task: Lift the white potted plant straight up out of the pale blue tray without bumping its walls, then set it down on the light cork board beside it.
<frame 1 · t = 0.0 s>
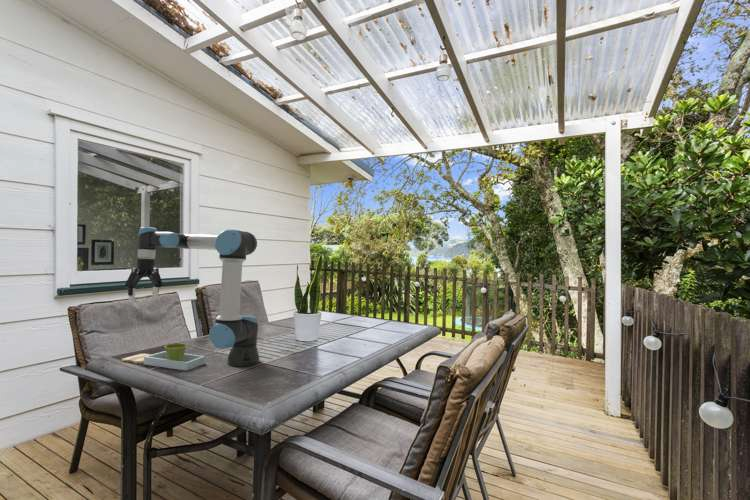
hand: (143, 301, 183), 28 cm above the table, tool pointing down, fingers open, 13 cm apart
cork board: (141, 359, 180), on the table
pale blue tray: (174, 364, 175), on the table
plant pot: (174, 364, 175), resting in pale blue tray
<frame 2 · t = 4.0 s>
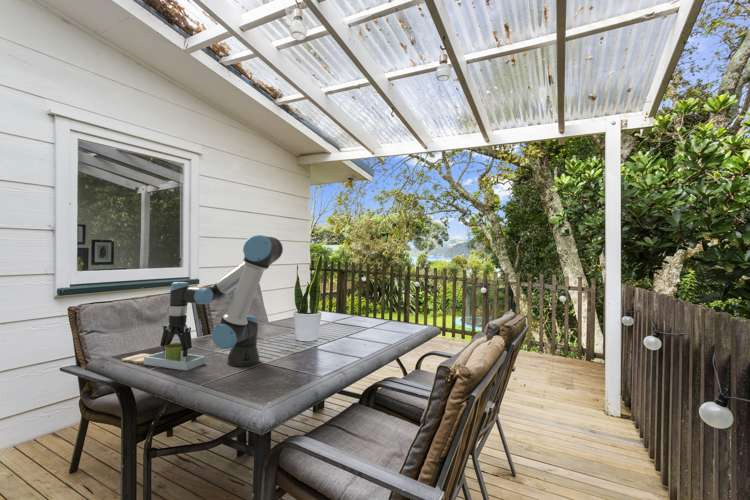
hand: (174, 362, 175), 1 cm above the table, tool pointing down, fingers closed on plant pot, 8 cm apart
plant pot: (174, 364, 175), resting in pale blue tray, touching gripper
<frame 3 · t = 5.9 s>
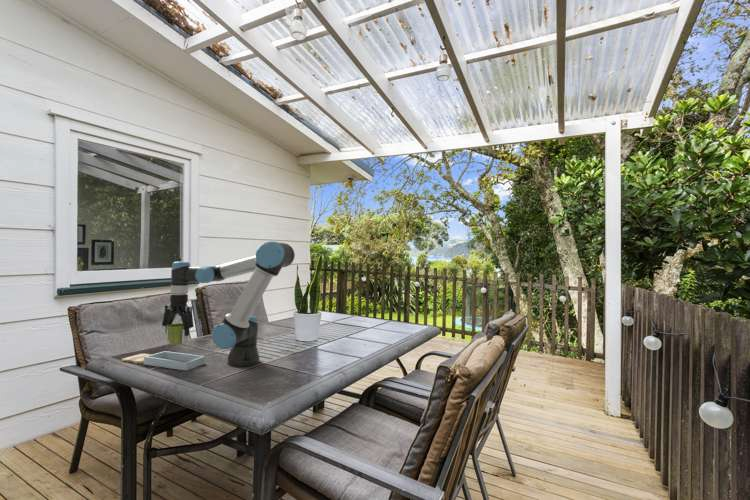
hand: (176, 341, 175), 11 cm above the table, tool pointing down, fingers closed on plant pot, 8 cm apart
plant pot: (176, 343, 175), point 10 cm above the table, touching gripper
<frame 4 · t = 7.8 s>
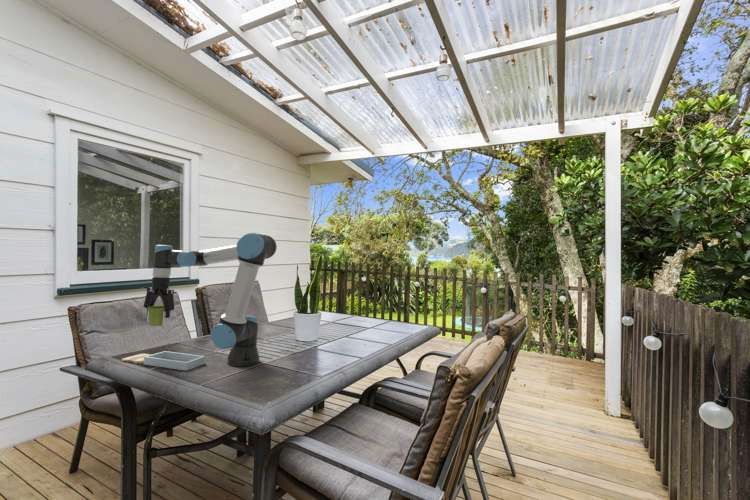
hand: (157, 323, 178), 18 cm above the table, tool pointing down, fingers closed on plant pot, 8 cm apart
plant pot: (157, 325, 178), point 17 cm above the table, touching gripper
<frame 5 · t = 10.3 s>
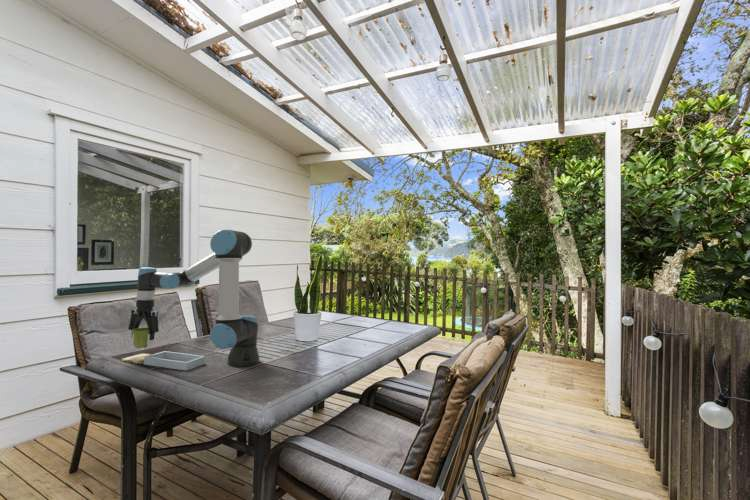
hand: (142, 345, 180), 7 cm above the table, tool pointing down, fingers closed on plant pot, 8 cm apart
plant pot: (142, 347, 180), point 6 cm above the table, touching gripper
when the fingers open (3 cm above the table, at t = 12.0 s): plant pot drops 1 cm, resting on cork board.
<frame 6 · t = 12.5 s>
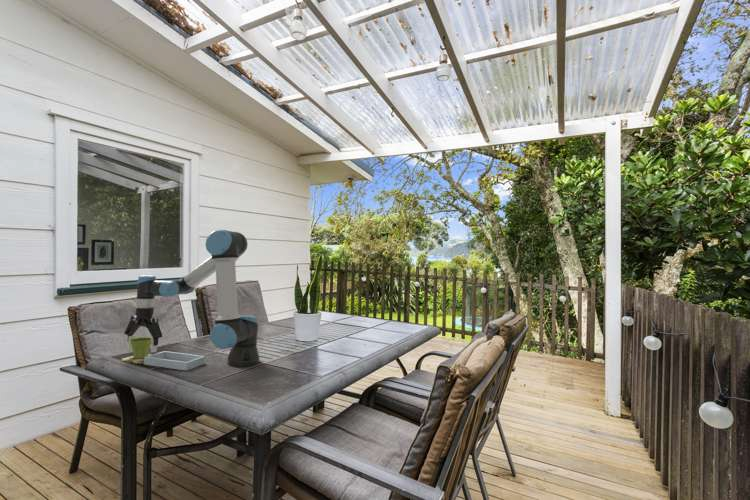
hand: (142, 350, 180), 4 cm above the table, tool pointing down, fingers open, 13 cm apart
plant pot: (140, 357, 180), point 1 cm above the table, touching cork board
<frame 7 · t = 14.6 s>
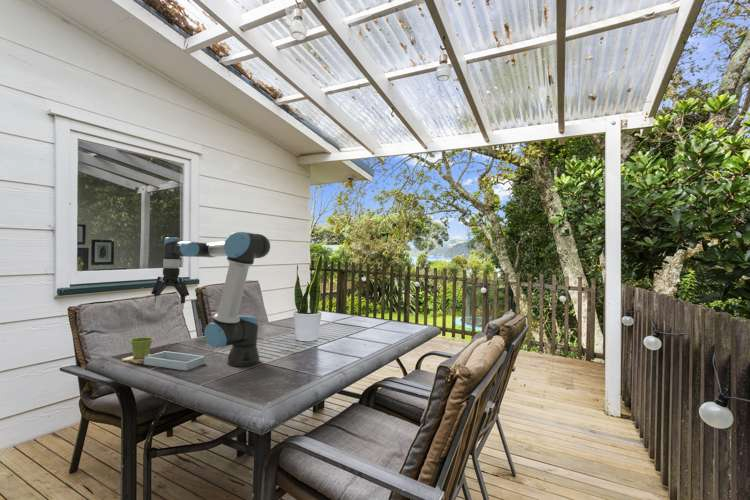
hand: (169, 309, 189), 24 cm above the table, tool pointing down, fingers open, 13 cm apart
nothing on the table moved.
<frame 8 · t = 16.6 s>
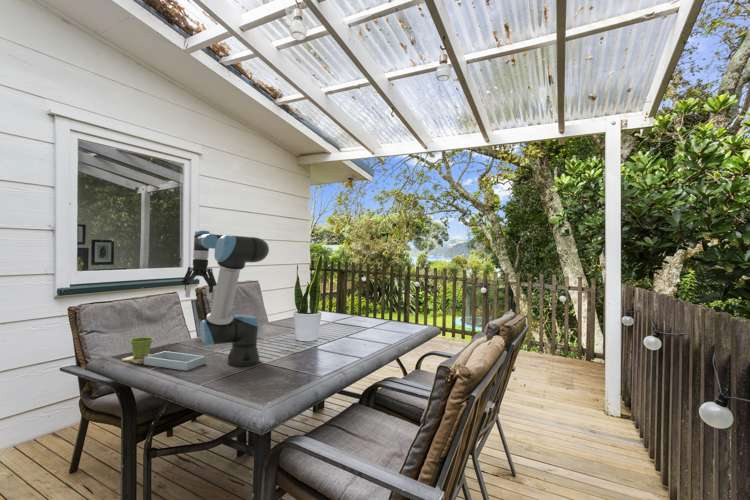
hand: (198, 298, 200), 29 cm above the table, tool pointing down, fingers open, 13 cm apart
nothing on the table moved.
at the end: plant pot 0.5 cm off-centre on the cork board, point 0.8 cm above the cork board's base; plant pot tilted 0°; plant pot touching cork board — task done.
